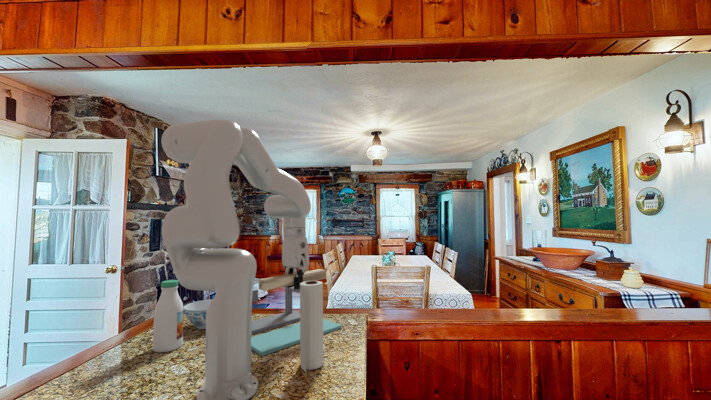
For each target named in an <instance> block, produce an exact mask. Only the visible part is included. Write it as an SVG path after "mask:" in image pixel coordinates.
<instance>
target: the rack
mask: <svg viewBox="0 0 711 400" xmlns="http://www.w3.org/2000/svg"><path fill="white" fill-rule="evenodd" d="M291 269H292V268H291ZM284 271H285V272H284V275H286V270H285V269H284ZM293 292H295V293H297V294H300V289H296V290H295V289H294V287H289V288H288V287H287V286H286V287H284V293H285V294H284V296H285V297H284V299H285V300H284V302H285V303H284V304H285V305H284V307H285V309H284V311H285V312H280V313H278V314H273V315H269V316H265V317H261V318H258V319H254V320H253V319H252V335H253V336H254V335H257V334H260V333H263V332H267V331H269V329H270V330H273V329H276V327H277V328H279V327H284V326H286V325H290V324H291V325H292V324H293V323H297V322H300V311H297V310H293ZM257 302H259V289H253V293H252V303H257ZM283 325H284V326H283ZM266 330H267V331H266Z"/></svg>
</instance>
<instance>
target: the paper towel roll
mask: <svg viewBox="0 0 711 400" xmlns="http://www.w3.org/2000/svg"><path fill="white" fill-rule="evenodd" d="M323 283H324V282H323V281H320V280H316V281H306V282H302V283H300V293H299V307H300V308H299V313H300V321H299V323H300V343H299V344H300V347H299V351H300V353H299V354H300V357H299V358H300V362H299V363H300V368H301V370H303V371H304V372H305V373H307V370H309V371H311V370H316V369H320V368H321V367H323V365H324V334H323V319H324V284H323Z"/></svg>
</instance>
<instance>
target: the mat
mask: <svg viewBox="0 0 711 400" xmlns="http://www.w3.org/2000/svg"><path fill="white" fill-rule="evenodd" d="M340 329H342V324H340V323H337V322H333V321H331V320H327V319H325V318H323V335H326V334H329V333H331V332H334V331H337V330H338V331H339V330H340ZM297 344H300V322H298V323H295V324H291V325H289V326H283V327H281V328H278V329H275V330H272V331H266V332H264V333H262V334H256V335H253V336H251V351H253V352H255V353H257V355H260V356H261V357H263V356H267V355H269V354H272V353H274V352H277V351H280V350H284V349H286V348H290V347H292V346H295V345H297Z"/></svg>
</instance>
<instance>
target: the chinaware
mask: <svg viewBox="0 0 711 400" xmlns="http://www.w3.org/2000/svg"><path fill="white" fill-rule="evenodd" d="M212 300H213V298H212V299H203V300H197V301H193V302H190V303H187V304H185V305H183V314H184V316H185V317H186V319H187V320H188V322H190V323H191V324H193V325H194V326H195V327H196V329H199V330H204V329H205V330H206V313H207V309H208V307H209V305H210V303H211V302H212Z"/></svg>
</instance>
